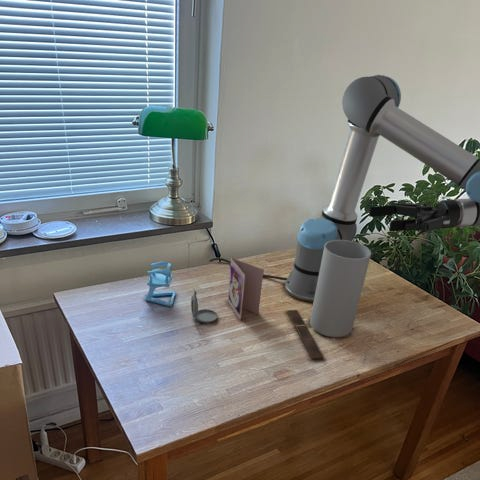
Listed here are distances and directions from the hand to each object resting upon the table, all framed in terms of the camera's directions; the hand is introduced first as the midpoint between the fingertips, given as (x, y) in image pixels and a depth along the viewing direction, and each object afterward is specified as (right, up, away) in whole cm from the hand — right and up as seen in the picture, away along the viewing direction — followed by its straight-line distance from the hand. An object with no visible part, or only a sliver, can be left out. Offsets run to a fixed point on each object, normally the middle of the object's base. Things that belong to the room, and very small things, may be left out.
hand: (379, 218), depth 126 cm
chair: (-62, -21, +19) cm, 68 cm away
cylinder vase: (-10, -29, +14) cm, 34 cm away
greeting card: (-37, -24, +18) cm, 47 cm away
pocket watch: (-48, -27, +12) cm, 57 cm away
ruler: (-19, -31, +9) cm, 38 cm away
